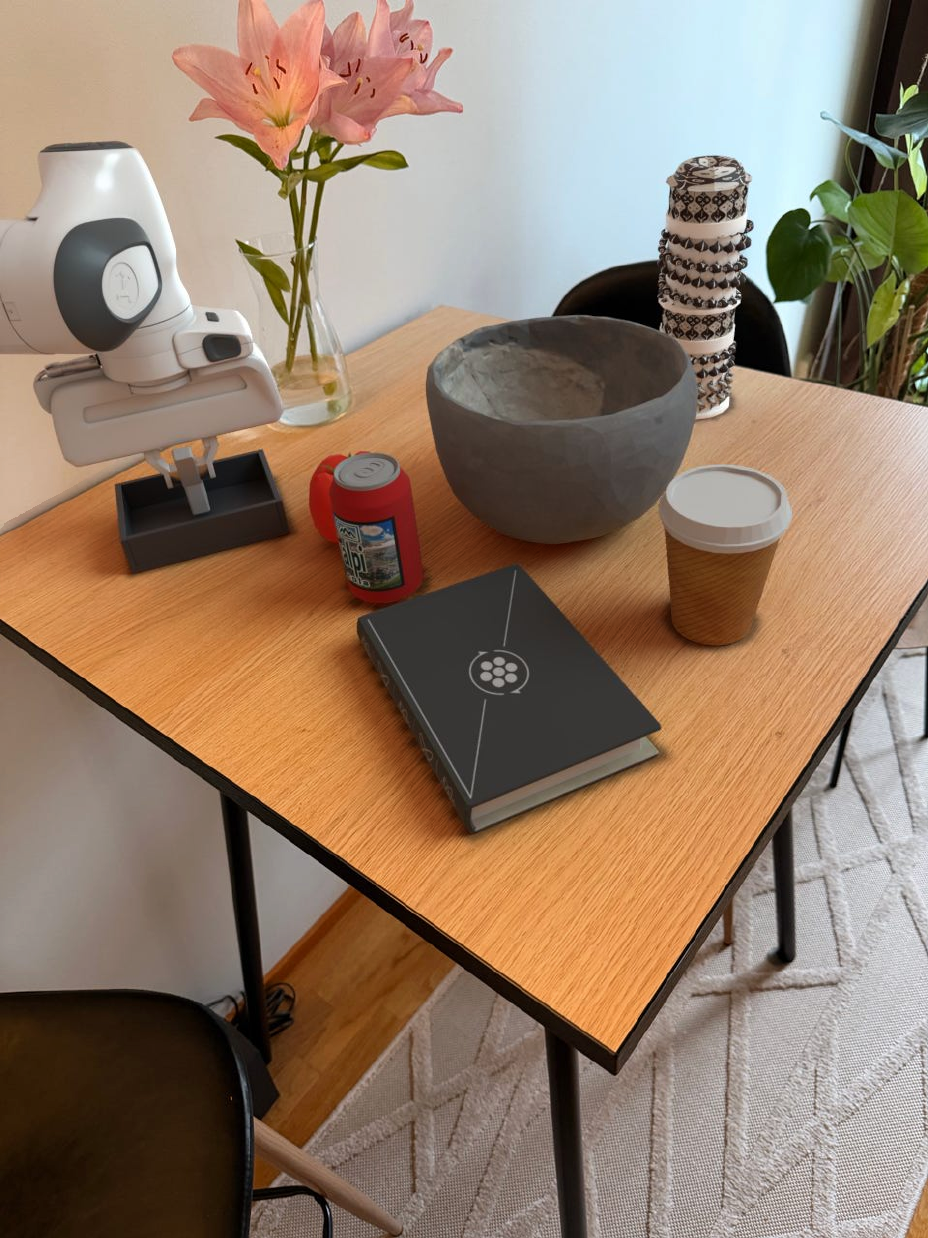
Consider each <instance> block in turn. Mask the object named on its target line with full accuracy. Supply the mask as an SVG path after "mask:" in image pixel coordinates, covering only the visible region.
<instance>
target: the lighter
mask: <svg viewBox="0 0 928 1238" xmlns="http://www.w3.org/2000/svg"><path fill="white" fill-rule="evenodd" d="M171 455H172V460H173V463H175V466H176V468H177V471H178V474H179V477H180V480H181V482H182V485H183V487H184V489H185V492H186V495H187V498H188V501H189V504H190V507H191V510H192V514H194V515H196V514H200V513H204V512H208V511H210V507H209V503H208V499H207V495H206V491H205V488H204V484H203V481H201V479H200V475H199V472H198V469H197V466H196V462H195V458H196V455H195V454H193V451H192V448H191V446H190V445H186V446H182V447H177V448H173V449H172V450H171Z"/></svg>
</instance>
